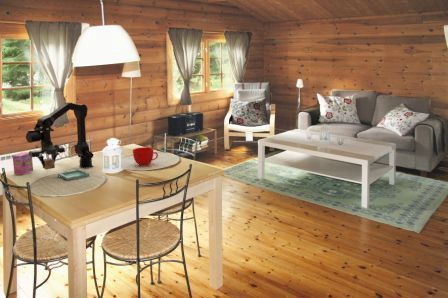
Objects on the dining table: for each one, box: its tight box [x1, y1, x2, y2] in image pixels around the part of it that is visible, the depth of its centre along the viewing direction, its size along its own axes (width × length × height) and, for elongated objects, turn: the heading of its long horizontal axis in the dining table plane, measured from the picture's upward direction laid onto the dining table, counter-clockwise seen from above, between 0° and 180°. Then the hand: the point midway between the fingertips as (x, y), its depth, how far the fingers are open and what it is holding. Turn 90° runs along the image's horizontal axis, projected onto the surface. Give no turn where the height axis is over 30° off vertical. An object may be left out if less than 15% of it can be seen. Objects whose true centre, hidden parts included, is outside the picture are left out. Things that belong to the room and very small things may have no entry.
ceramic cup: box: [132, 146, 159, 166], centre depth 270 cm, size 13×17×10 cm
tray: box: [57, 168, 90, 182], centre depth 246 cm, size 13×13×2 cm
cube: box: [42, 157, 56, 170], centre depth 245 cm, size 5×5×5 cm
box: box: [12, 151, 34, 176], centre depth 254 cm, size 10×6×12 cm, turn 168°
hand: (48, 166), depth 246 cm, fingers closed on cube, 5 cm apart
